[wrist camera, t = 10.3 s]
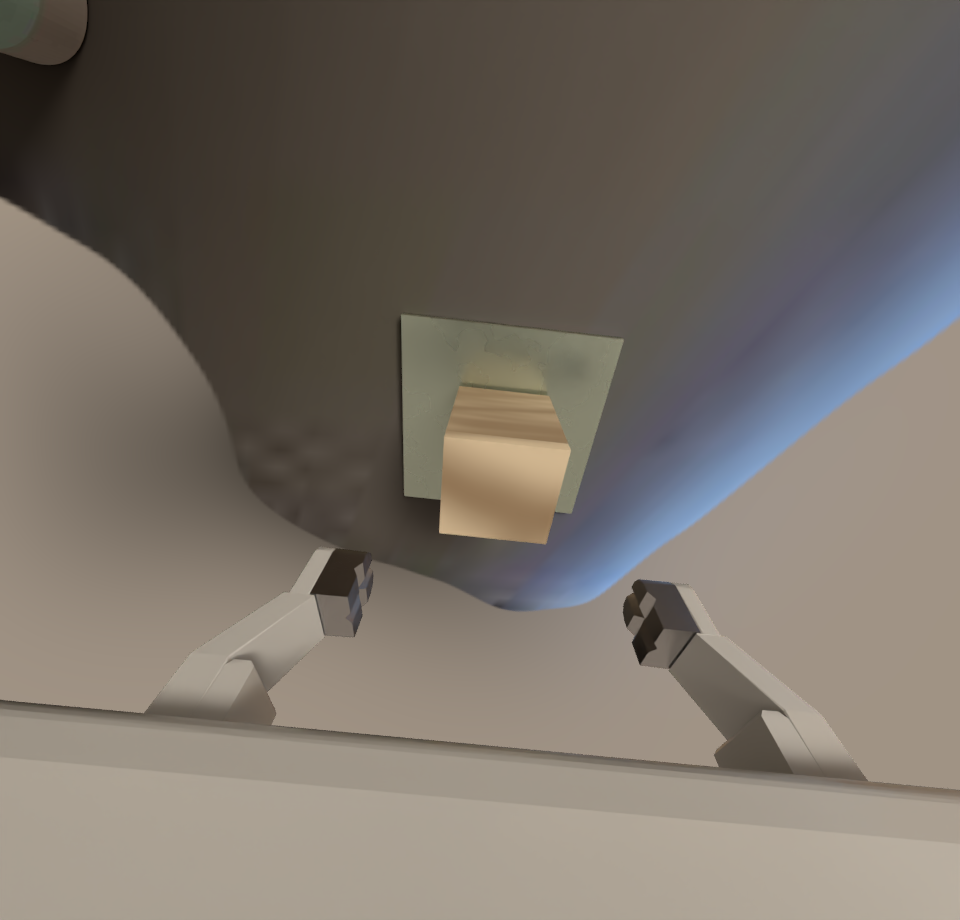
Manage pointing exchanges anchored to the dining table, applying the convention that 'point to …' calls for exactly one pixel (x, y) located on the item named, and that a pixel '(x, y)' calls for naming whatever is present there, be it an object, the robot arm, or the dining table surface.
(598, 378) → the post
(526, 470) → the wood grain block
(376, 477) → the dining table surface
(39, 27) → the coffee cup
